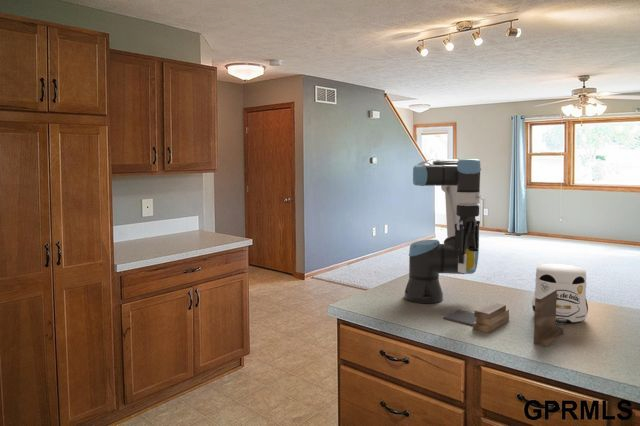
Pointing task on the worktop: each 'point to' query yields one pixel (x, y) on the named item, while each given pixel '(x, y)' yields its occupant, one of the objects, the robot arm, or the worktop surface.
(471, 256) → the lemon
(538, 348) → the worktop surface
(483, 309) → the wooden blocks
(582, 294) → the milk container
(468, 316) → the rubber mat
